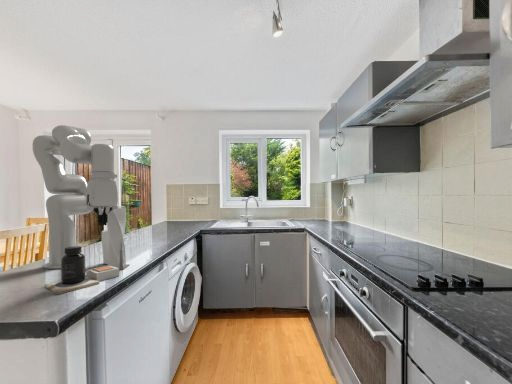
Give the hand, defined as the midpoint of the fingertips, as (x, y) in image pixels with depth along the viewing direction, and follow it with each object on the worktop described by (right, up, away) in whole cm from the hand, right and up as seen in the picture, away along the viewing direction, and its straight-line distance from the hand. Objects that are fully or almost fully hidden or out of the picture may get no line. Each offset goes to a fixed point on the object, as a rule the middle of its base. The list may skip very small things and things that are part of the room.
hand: (102, 224), depth 101 cm
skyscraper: (-1, -20, +13) cm, 24 cm away
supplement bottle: (-5, -19, -9) cm, 21 cm away
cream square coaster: (-5, -20, -10) cm, 22 cm away
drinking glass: (-8, -20, +20) cm, 30 cm away
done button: (0, -18, 0) cm, 18 cm away
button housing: (+1, -20, 0) cm, 20 cm away
